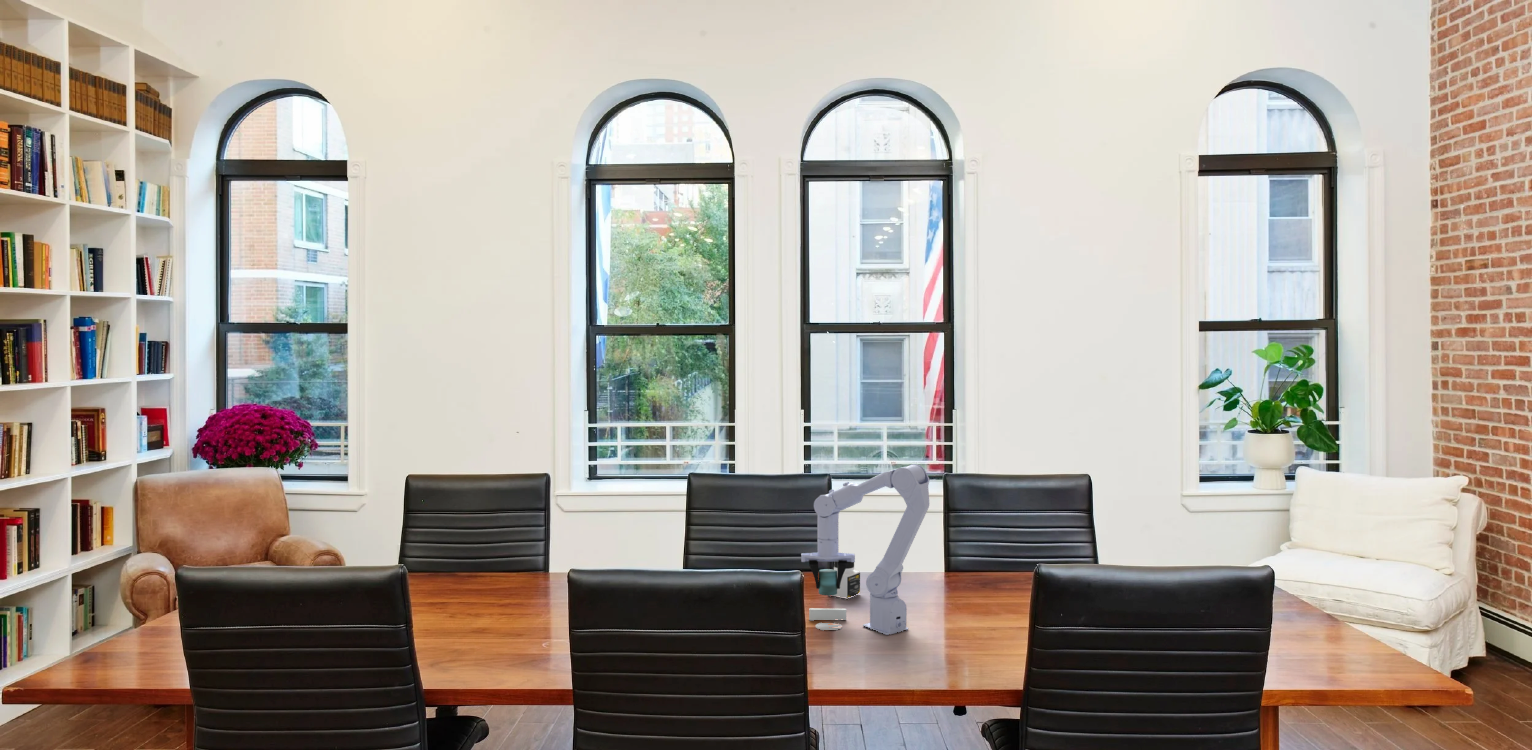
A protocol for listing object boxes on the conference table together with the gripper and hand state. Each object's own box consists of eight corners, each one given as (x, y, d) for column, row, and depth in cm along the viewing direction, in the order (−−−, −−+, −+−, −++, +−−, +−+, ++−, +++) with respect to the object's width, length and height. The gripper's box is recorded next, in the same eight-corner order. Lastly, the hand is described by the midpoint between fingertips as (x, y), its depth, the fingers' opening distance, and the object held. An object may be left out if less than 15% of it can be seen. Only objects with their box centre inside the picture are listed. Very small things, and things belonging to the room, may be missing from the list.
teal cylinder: (840, 593, 247) (840, 571, 247) (826, 596, 244) (826, 574, 244) (829, 589, 251) (829, 568, 251) (815, 592, 248) (815, 570, 248)
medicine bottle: (847, 600, 266) (847, 559, 265) (827, 596, 270) (827, 555, 270) (860, 594, 271) (860, 554, 271) (840, 590, 276) (840, 551, 275)
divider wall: (846, 619, 246) (846, 608, 246) (846, 620, 245) (846, 609, 245) (809, 619, 247) (809, 608, 246) (809, 620, 246) (809, 609, 245)
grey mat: (847, 627, 239) (847, 626, 239) (827, 632, 235) (827, 631, 235) (830, 621, 245) (830, 620, 245) (810, 625, 241) (810, 625, 241)
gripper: (853, 535, 251) (853, 584, 251) (801, 535, 251) (801, 583, 252) (855, 540, 244) (855, 590, 244) (801, 540, 244) (801, 590, 245)
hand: (827, 587), depth 247 cm, fingers closed on teal cylinder, 5 cm apart
